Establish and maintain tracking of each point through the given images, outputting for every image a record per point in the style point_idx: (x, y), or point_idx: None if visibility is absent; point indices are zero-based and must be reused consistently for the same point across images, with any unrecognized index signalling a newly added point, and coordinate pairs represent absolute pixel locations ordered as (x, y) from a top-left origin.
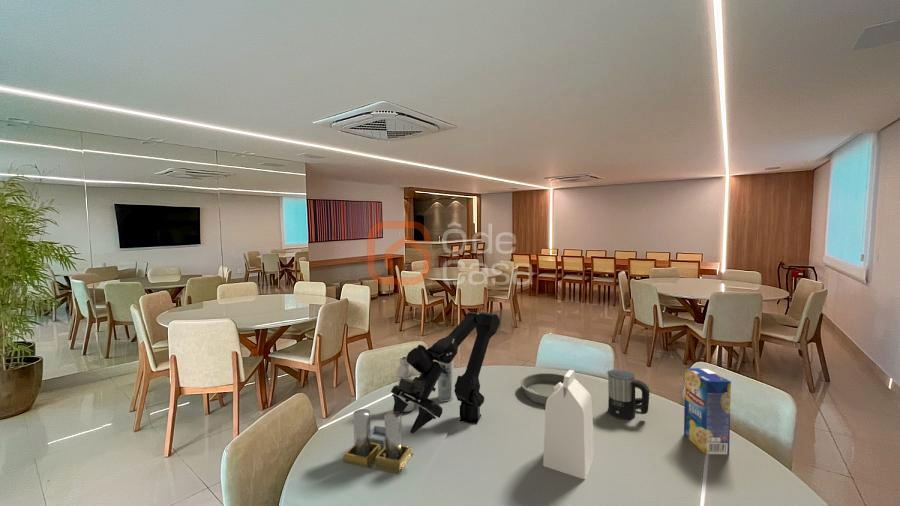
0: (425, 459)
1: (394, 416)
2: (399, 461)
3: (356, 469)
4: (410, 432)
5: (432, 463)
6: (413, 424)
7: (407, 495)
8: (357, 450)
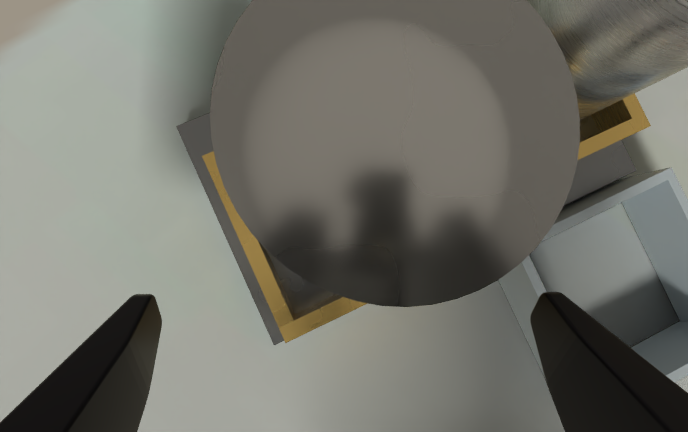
0: (192, 379)
1: (320, 94)
2: (207, 161)
3: None
4: (147, 294)
5: None
6: (101, 372)
7: (18, 70)
8: None
